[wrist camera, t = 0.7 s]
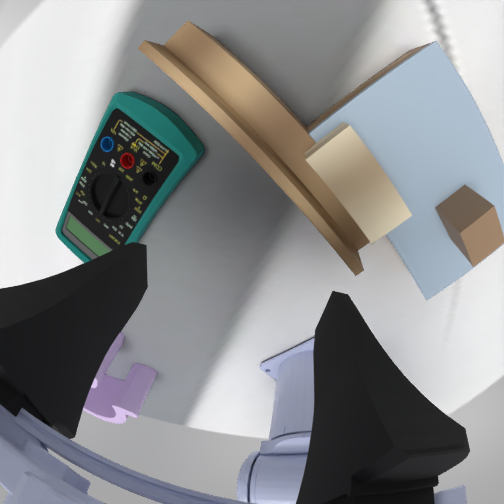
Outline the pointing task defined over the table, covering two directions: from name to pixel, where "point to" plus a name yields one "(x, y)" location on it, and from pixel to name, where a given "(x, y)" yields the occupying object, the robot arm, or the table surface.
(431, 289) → the lid
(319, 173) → the cream rectangular block
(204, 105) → the toolbox
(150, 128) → the digital multimeter
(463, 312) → the table surface
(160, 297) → the table surface
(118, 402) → the clip
